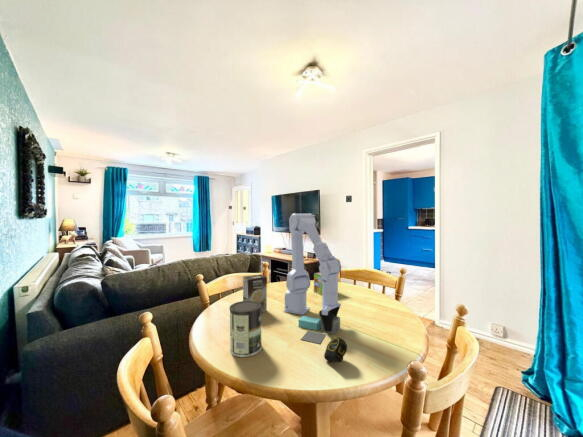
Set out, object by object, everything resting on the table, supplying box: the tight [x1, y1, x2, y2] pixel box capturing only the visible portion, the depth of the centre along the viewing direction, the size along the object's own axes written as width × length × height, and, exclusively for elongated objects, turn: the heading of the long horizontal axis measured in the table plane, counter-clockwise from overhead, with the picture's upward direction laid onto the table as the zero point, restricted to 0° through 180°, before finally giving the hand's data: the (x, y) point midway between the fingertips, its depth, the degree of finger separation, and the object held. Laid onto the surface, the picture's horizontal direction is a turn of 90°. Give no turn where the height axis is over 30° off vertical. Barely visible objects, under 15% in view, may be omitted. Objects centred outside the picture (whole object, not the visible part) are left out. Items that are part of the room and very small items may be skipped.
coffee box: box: [242, 274, 268, 313], centre depth 111 cm, size 9×6×16 cm
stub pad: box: [300, 330, 327, 345], centre depth 87 cm, size 7×7×1 cm
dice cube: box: [321, 315, 341, 336], centre depth 92 cm, size 5×5×5 cm
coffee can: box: [228, 300, 263, 358], centre depth 80 cm, size 10×10×14 cm
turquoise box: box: [298, 315, 322, 332], centre depth 95 cm, size 8×4×3 cm, turn 66°
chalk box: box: [313, 272, 323, 297], centre depth 134 cm, size 9×9×15 cm
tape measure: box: [323, 336, 348, 363], centre depth 73 cm, size 7×7×4 cm
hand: (330, 327), depth 92 cm, fingers closed on dice cube, 6 cm apart
